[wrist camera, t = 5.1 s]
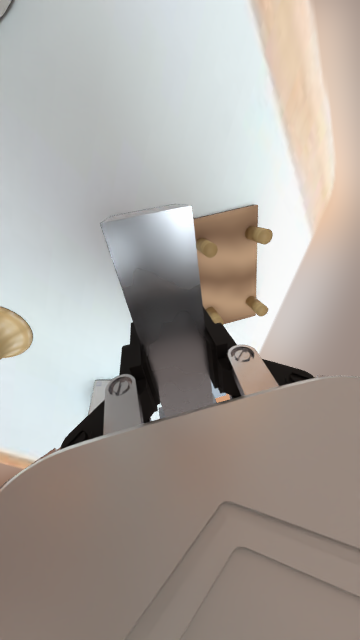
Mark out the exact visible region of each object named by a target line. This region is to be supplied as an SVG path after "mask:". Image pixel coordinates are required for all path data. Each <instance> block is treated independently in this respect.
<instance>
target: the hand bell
mask: <svg viewBox="0 0 360 640" xmlns="http://www.w3.org/2000/svg"><path fill="white" fill-rule="evenodd" d="M32 338H33V336H32V331H31V329H30V327H29V325H28V324H27V323H26V321H25V320H24V319H23V318H22V317H20V316H19V315H17V314H16V313H14V312H12V311H10V310H8V309H6V308H3V307H0V359H2V358H8V357H13V356H16V355H19V354H21V353H23V352H25V351H26V350H27V349H28V348H29V347H30V345H31V343H32Z"/></svg>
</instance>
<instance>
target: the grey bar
mask: <svg viewBox="0 0 360 640" xmlns="http://www.w3.org/2000/svg"><path fill="white" fill-rule="evenodd" d="M100 225H101V228H102V231H103V234H104V237H105V240H106V243H107V246H108V249H109V252H110V255H111V258H112V261H113V264H114V267H115V270H116V272H117V275H118V278H119V281H120V284H121V287H122V290H123V293H124V296H125V299H126V302H127V305H128V308H129V311H130V314H131V317H132V320H133V323H134V325H135V328H136V331H137V334H138V337H139V340H140V343H141V346H142V349H143V352H146V355H147V358H148V361H149V364H150V367H151V370H152V373H153V376H154V379H155V382H156V385H157V388H158V391H159V396H160V402H161V405H162V407H161V408H159V415H160V419H162V418H165V417H169V416H172V415H176V414H179V413H183V412H187V411H190V410H194V409H197V408H201V407H205V406H208V405H212V404H215V403H217V402H216V400H215V397H214V395H213V393H212V386H211V379H210V371H209V362H208V353H207V344H206V331H205V322H204V313H203V304H202V295H201V286H200V276H199V267H198V258H197V249H196V240H195V231H194V221H193V212H192V205H180V204H171V205H166V206H161V207H156V208H151V209H145V210H140V211H135V212H130V213H124V214H119V215H114V216H110V217H109V218H107V219H106V220H104V221H103V222H101V223H100Z"/></svg>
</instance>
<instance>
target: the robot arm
mask: <svg viewBox="0 0 360 640" xmlns="http://www.w3.org/2000/svg"><path fill="white" fill-rule="evenodd" d="M11 1H12V0H0V17H1V16H3V14H4V13H5V11H6V9H7V8H8V6H9V4H10V2H11ZM203 313H204V322H205V331H206V344H207V353H208V362H209V371H210V379H211V382H212V384H213V386H214V388H215V389H216V388H218V390H219V392H220V394H221V393H227V394H229V395H230V400H227V401H223V402H219V403H215V404H212V405H208V406H205V407H201V408H197V409H194V410H190V411H187V412H183V413H179V414H176V415H172V416H169V417H165V418H162V419H158V420H155V421H151V418H150V417H151V416H152V414H153V413H154V412H156V411H158V410H157V405H158V404H160V396H159V391H158V388H157V385H156V382H155V379H154V376H153V373H152V370H151V367H150V364H149V361H148V358H147V355H146V352H143V349H142V346H141V343H140V340H139V337H138V334H137V331H136V328H135V325H134V323H131V335H130V344H129V345H125V346H123V347H122V354H121V365H120V375H119V376H117V377H115V378H113V379H112V380H111V381H110V382H109V383H108V385H107V386H106V389H105V400H104V401H103V402H101V403H100V404H99V405H98V406H97V407H96V408H95V409H94V410H93V411H92V412H91V413H90V414H89V415H88V416H87V417H86V418H85V419H84V420H83V421H82V422H81V423H80V424H79V425H78V426H77V427H76V428H75V429H74V430H73V431H72V432H70V433H69V435H68V436H67V437H66V438H65V440H64V441H63V443H62V445H61V447H60V448H59V449H56V448H54V449H53V450H51V451H50V452H48V453H47V454H46V455H44V456H43V457H41V458H40V459H38V460H37V461H35V462H34V463H33V464H31V465H30V466H28V467H27V468H25V469H24V470H23V471H21V472H20V473H18V474H17V475H16V476H14V477H13V478H11V479H10V480H8V481H7V482H5V483H4V484H3V485H2V486H1V487H0V640H360V377H356V376H323V375H317V377H313V376H312V375H311V374H309V373H308V372H306V371H303V370H300V369H296V368H293V367H289V366H286V365H282V364H278V363H275V362H271V361H267V360H264V359H261V357H260V356H259V354H258V353H257V351H256V350H255V349H254V348H252V347H251V346H248V345H237V344H236V343H235V342H234V340H233V339H232V337H231V336H230V335H229V333H228V332H227V330H226V329H225V328H224V326H223V325H222V323H220V322H219V323H214V322H213V320H212V319H211V317H210V316H209V314H208V313H207V311H206V310H205V308H204V307H203Z"/></svg>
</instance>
